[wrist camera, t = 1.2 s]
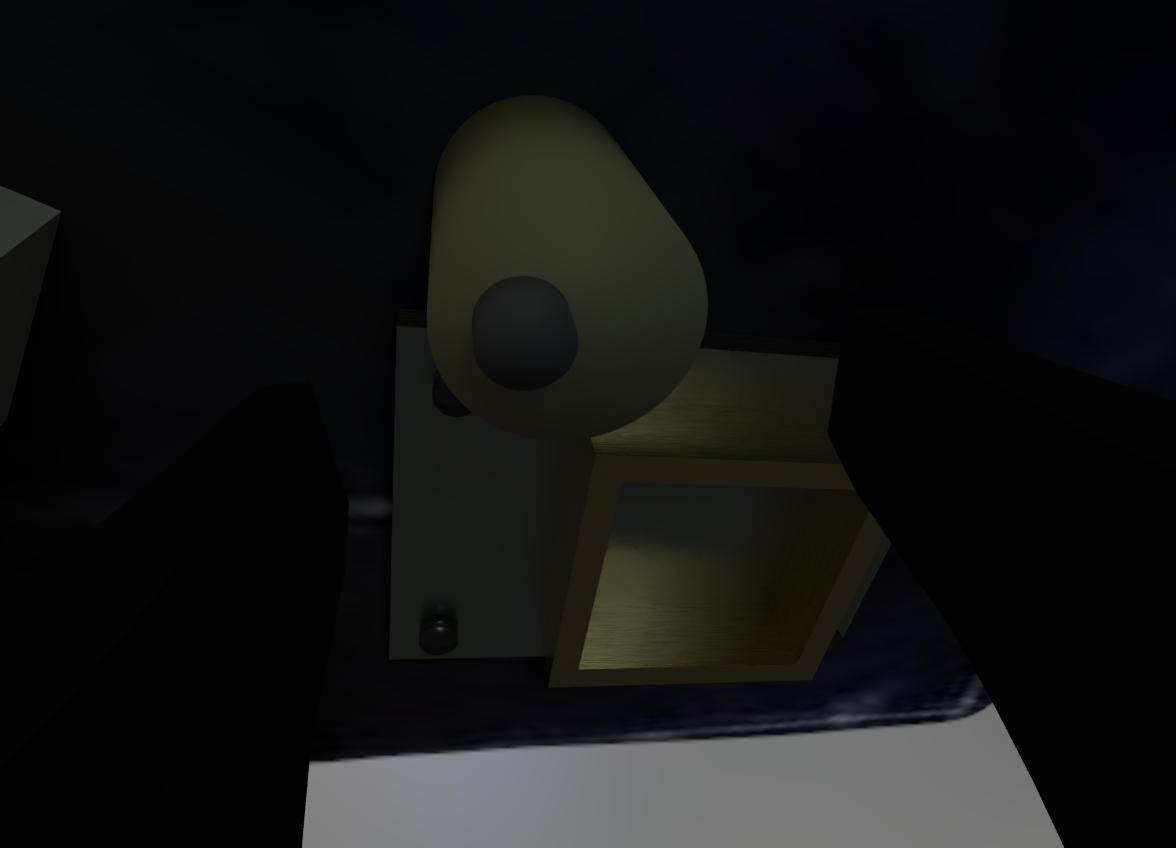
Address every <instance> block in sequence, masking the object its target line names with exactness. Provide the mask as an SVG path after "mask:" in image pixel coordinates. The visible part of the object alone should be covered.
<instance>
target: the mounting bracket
mask: <svg viewBox="0 0 1176 848" xmlns="http://www.w3.org/2000/svg"><path fill="white" fill-rule="evenodd" d="M840 347H841V343H840V342H828V341H815V340H802V339H790V338H777V337H764V336H752V335H739V334H726V333H714V332H704V337H703V340H702V343H701V345H700V348H699V351H698V353H697V356H696V358H695V360H694V362H693V364H692V366H691V367H690V369H689V370H688V372H687V374H686V375H685V377H684V378H683V380H682V381H681V382H680V383H679V385H678V386H677V387H676V388H675V389H674V391H673V392H672V393H671V394H670V395H669V396H668V397H667V398H666V399H665V400H664V401H662V402H661V403H660V404H659V405H658V406H657V407H655V408H654V409H653V410H651V411H650V412H649V413H647V414H646V415H644V416H643V417H641V418H639V419H638V420H636V421H634V422H633V423H631V424H629V425H626V426H624V427H622V428H620V429H618V430H615V431H612V432H609V433H606V434H603V435H600V436H596V437H591V438H587V439H580V440H571V441H547V440H537V439H531V438H527V437H522V436H518V435H515V434H512V433H509V432H506V431H504V430H501V429H499V428H497V427H495V426H493V425H491V424H489V423H487V422H486V421H484V420H483V419H481V418H479V417H478V416H476V415H475V414H474V413H473V412H471V411H470V410H469V409H468V408H467V407H465V406H464V405H463V404H462V403H461V402H460V401H459V400H458V399H457V397H456V396H455V395H454V394H453V393H452V392H451V390H450V389H449V388H448V386H447V385H446V383H445V382H444V380H443V379H442V377H441V375H440V373H439V371H438V369H437V367H436V365H435V362H434V359H433V356H432V353H431V350H430V345H429V339H428V334H427V310H422V309H410V308H399V312H398V320H397V336H396V381H395V425H394V469H393V514H392V558H391V602H390V647H389V659H440V658H490V657H541V656H544V661H545V668H546V676H547V684H548V688H550V687H585V686H619V685H654V684H688V683H723V682H758V681H792V680H812V678H813V676H814V674H815V672H816V670H817V668H818V666H819V664H820V662H821V660H822V658H823V657H828V656H831V655H833V654H835V653H837V652H838V651H839V650H840V649H841V648H842V647H843V645H844V639H843V637H844V635H845V633H846V631H847V629H848V627H849V625H850V623H851V621H852V619H853V617H854V616H855V614H856V612H857V610H858V608H859V606H860V604H861V602H862V600H863V598H864V596H865V594H866V592H867V590H868V588H869V586H870V584H871V582H872V580H873V578H874V576H875V575H876V573H877V571H878V569H879V567H880V565H881V563H882V561H883V559H884V557H885V555H886V553H887V551H888V549H889V547H890V545H891V542H890V540H889V539H888V538H887V536H886V535H885V533H884V532H883V530H882V529H881V527H880V526H879V525H878V523H877V522H876V520H875V519H874V517H873V516H872V514H871V513H870V511H869V510H868V508H867V507H866V506H865V504H864V503H863V501H862V500H861V498H860V497H859V495H858V494H857V492H856V491H855V489H854V487H853V485H852V483H851V481H850V479H849V477H848V475H847V473H846V471H845V469H844V467H843V466H842V464H841V461H840V459H839V457H838V455H837V453H836V451H835V448H834V446H833V444H832V442H831V440H830V438H829V436H828V433H827V432H828V426H829V419H830V413H831V406H832V400H833V393H834V387H835V380H836V374H837V367H838V360H839V354H840Z"/></svg>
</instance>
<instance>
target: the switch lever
mask: <svg viewBox="0 0 1176 848" xmlns="http://www.w3.org/2000/svg"><path fill="white" fill-rule="evenodd" d="M707 310H708V299H707V287H706V283H705V278H704V274H703V270H702V268H701V265H700V262H699V260H698V257H697V255H696V253H695V251H694V250H693V248H692V246H691V244H690V243H689V241H688V239H687V238H686V237H685V235H684V234H683V233H682V231H681V230H680V229H679V227H678V226H677V224H676V223H675V222H674V220H673V219H672V218H671V216H670V215H669V213H668V212H667V211H666V209H665V208H664V207H663V205H662V204H661V203H660V201H659V200H658V198H657V197H656V196H655V194H654V193H653V192H652V190H651V189H650V187H649V186H648V185H647V183H646V182H645V181H644V179H643V178H642V177H641V175H640V174H639V172H638V171H637V170H636V168H635V167H634V166H633V164H632V163H631V161H630V160H629V159H628V157H627V156H626V155H625V153H624V152H623V151H622V149H621V148H620V146H619V145H618V144H617V142H616V141H615V140H614V138H613V137H612V136H611V134H610V133H609V132H608V131H607V129H606V128H605V127H604V126H603V125H602V124H601V123H600V122H599V121H598V120H597V119H596V118H595V117H593V116H592V115H590V114H589V113H588V112H586V111H585V110H583V109H581V108H580V107H578V106H576V105H574V104H572V103H569V102H566V101H564V100H561V99H557V98H553V97H548V96H537V95H528V96H517V97H512V98H508V99H504V100H501V101H498V102H496V103H493V104H491V105H489V106H487V107H485V108H483V109H481V110H480V111H478V112H477V113H476V114H474V115H473V116H471V117H470V118H469V119H468V120H467V121H466V122H465V123H464V124H463V125H462V126H460V127H459V129H458V130H457V131H456V132H455V134H454V135H453V136H452V138H451V139H450V141H449V142H448V144H447V146H446V147H445V149H444V151H443V153H442V156H441V158H440V161H439V163H438V167H437V171H436V175H435V183H434V193H433V211H432V230H431V248H430V266H429V284H428V302H427V334H428V339H429V345H430V350H431V353H432V356H433V359H434V362H435V365H436V367H437V369H438V371H439V373H440V375H441V377H442V379H443V380H444V382H445V383H446V385H447V386H448V388H449V389H450V390H451V392H452V393H453V394H454V395H455V396H456V397H457V399H458V400H459V401H460V402H461V403H462V404H463V405H464V406H465V407H467V408H468V409H469V410H470V411H471V412H473V413H474V414H475V415H476V416H478V417H479V418H481V419H483V420H484V421H486V422H487V423H489V424H491V425H493V426H495V427H497V428H499V429H501V430H504V431H506V432H509V433H512V434H515V435H518V436H522V437H527V438H531V439H537V440H547V441H571V440H580V439H587V438H591V437H596V436H600V435H603V434H606V433H609V432H612V431H615V430H618V429H620V428H622V427H624V426H626V425H629V424H631V423H633V422H634V421H636V420H638V419H639V418H641V417H643V416H644V415H646V414H647V413H649V412H650V411H651V410H653V409H654V408H655V407H657V406H658V405H659V404H660V403H661V402H662V401H664V400H665V399H666V398H667V397H668V396H669V395H670V394H671V393H672V392H673V391H674V389H675V388H676V387H677V386H678V385H679V383H680V382H681V381H682V380H683V378H684V377H685V375H686V374H687V372H688V370H689V369H690V367H691V366H692V364H693V362H694V360H695V358H696V356H697V353H698V351H699V348H700V345H701V343H702V340H703V337H704V332H705V327H706V322H707Z"/></svg>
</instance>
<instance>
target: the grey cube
mask: <svg viewBox="0 0 1176 848" xmlns="http://www.w3.org/2000/svg"><path fill="white" fill-rule="evenodd" d="M60 214H61V211H59V210H56V209H54V208H52V207H49V206H47V205H45V204H42V203H40V202H37V201H35V200H33V199H30V198H28V197H26V196H23V195H21V194H19V193H16V192H14V191H11V190H9V189H7V188H4V187H2V186H0V426H1V425H2V424H3V423H4V422H5V421H6V419H7V417H8V413H9V409H10V405H11V401H12V398H13V394H14V390H15V386H16V382H17V378H18V375H19V371H20V367H21V363H22V359H23V356H24V352H25V348H26V344H27V340H28V336H29V333H30V329H31V325H32V321H33V317H34V313H35V310H36V306H37V302H38V298H39V294H40V290H41V287H42V283H43V279H44V275H45V271H46V268H47V264H48V260H49V256H50V252H51V248H52V245H53V241H54V237H55V233H56V229H57V225H58V222H59V218H60Z"/></svg>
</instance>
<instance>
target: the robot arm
mask: <svg viewBox="0 0 1176 848" xmlns="http://www.w3.org/2000/svg"><path fill="white" fill-rule="evenodd" d="M827 433H828V436H829V438H830V440H831V442H832V444H833V446H834V448H835V451H836V453H837V455H838V457H839V459H840V461H841V464H842V466H843V467H844V469H845V471H846V473H847V475H848V477H849V479H850V481H851V483H852V485H853V487H854V489H855V491H856V492H857V494H858V495H859V497H860V498H861V500H862V501H863V503H864V504H865V506H866V507H867V508H868V510H869V511H870V513H871V514H872V516H873V517H874V519H875V520H876V522H877V523H878V525H879V526H880V527H881V529H882V530H883V532H884V533H885V535H886V536H887V538H888V539H889V540H890V542H891V543H892V545H893V546H894V547H895V549H896V550H897V552H898V553H899V555H900V556H901V557H902V559H903V560H904V562H905V563H906V565H907V566H908V567H909V569H910V570H911V572H912V573H913V574H914V576H915V577H916V579H917V580H918V582H919V583H920V584H921V586H922V587H923V589H924V590H925V592H926V593H927V594H928V596H929V597H930V599H931V600H932V602H933V603H934V604H935V606H936V607H937V609H938V610H939V612H940V613H941V614H942V616H943V618H944V619H945V621H946V622H947V624H948V625H949V627H950V629H951V630H952V632H953V633H954V635H955V636H956V638H957V639H958V641H959V643H960V644H961V646H962V648H963V650H964V651H965V653H966V655H967V657H968V659H969V661H970V662H971V664H972V666H973V668H974V670H975V671H976V673H977V675H978V677H979V679H980V681H981V682H982V684H983V686H984V688H985V690H986V691H987V693H988V695H989V697H990V699H991V701H992V702H993V704H994V706H995V708H996V710H997V712H998V714H999V715H1000V717H1001V719H1002V721H1003V723H1004V725H1005V727H1006V729H1007V731H1008V733H1009V735H1010V737H1011V739H1012V741H1013V743H1014V745H1015V747H1016V749H1017V751H1018V753H1019V755H1020V756H1021V759H1022V761H1023V762H1024V764H1025V766H1026V768H1027V770H1028V772H1029V774H1030V776H1031V778H1032V780H1033V782H1034V784H1035V786H1036V788H1037V790H1038V792H1039V795H1040V797H1041V799H1042V801H1043V803H1044V805H1045V808H1046V810H1047V812H1048V814H1049V816H1050V818H1051V820H1052V823H1053V825H1054V827H1055V829H1056V831H1057V833H1058V835H1059V838H1060V840H1061V842H1062V844H1063V846H1064V848H1176V401H1175V400H1171V399H1168V398H1164V397H1161V396H1157V395H1154V394H1150V393H1147V392H1143V391H1140V390H1137V389H1133V388H1130V387H1127V386H1124V385H1121V384H1118V383H1115V382H1112V381H1109V380H1105V379H1102V378H1099V377H1096V376H1093V375H1090V374H1087V373H1084V372H1081V371H1078V370H1075V369H1072V368H1069V367H1066V366H1063V365H1060V364H1057V363H1054V362H1052V361H1049V360H1046V359H1043V358H1040V357H1038V356H1035V355H1032V354H1029V353H1027V352H1024V351H1021V350H1018V349H1016V348H1013V347H1010V346H1007V345H1005V344H1002V343H999V342H997V341H994V340H991V339H989V338H986V337H983V336H981V335H978V334H975V333H972V332H970V331H967V330H964V329H962V328H959V327H956V326H953V325H951V324H948V323H945V322H942V321H939V320H936V319H933V318H930V317H928V316H925V315H921V314H918V313H915V312H912V311H908V310H905V309H901V308H896V307H892V306H883V307H875V308H868V309H860V310H852V311H846V315H845V321H844V328H843V334H842V341H841V347H840V354H839V360H838V367H837V374H836V380H835V387H834V393H833V400H832V406H831V413H830V419H829V426H828V432H827ZM348 507H349V502H348V499H347V496H346V492H345V489H344V486H343V483H342V480H341V477H340V474H339V471H338V468H337V464H336V461H335V458H334V455H333V452H332V449H331V446H330V443H329V440H328V437H327V433H326V430H325V427H324V424H323V421H322V418H321V415H320V412H319V409H318V405H317V402H316V399H315V396H314V393H313V390H312V387H311V384H310V381H301V382H294V383H286V384H278V385H270V386H263V387H260V388H258V389H257V390H256V391H254V392H253V393H251V394H250V395H249V396H248V397H246V398H245V399H244V400H243V401H242V402H241V403H239V404H238V405H237V406H236V407H235V408H234V409H232V410H231V411H230V412H229V413H228V414H227V415H226V416H225V417H223V418H222V419H221V420H220V421H219V422H218V423H217V424H216V425H215V426H213V427H212V428H211V429H210V430H209V431H208V432H207V433H206V434H205V435H204V436H202V437H201V438H200V439H199V440H198V441H197V442H196V443H195V444H193V445H192V446H191V447H190V448H189V449H188V450H187V451H186V452H184V453H183V454H182V455H181V456H180V457H179V458H178V459H177V460H175V461H174V462H173V463H172V464H171V465H170V466H169V467H168V468H166V469H165V470H164V471H163V472H162V473H161V474H160V475H158V476H157V477H156V478H155V479H154V480H153V481H151V482H150V483H149V484H148V485H146V486H145V487H144V488H143V489H142V490H140V491H139V492H138V493H137V494H135V495H134V496H133V497H132V498H131V499H129V500H128V501H127V502H126V503H124V504H123V505H122V506H121V507H119V508H118V509H117V510H116V511H115V512H113V513H112V514H111V515H110V516H108V517H107V518H106V519H105V520H103V521H102V522H101V523H100V524H99V525H97V526H96V527H95V528H94V529H92V530H91V531H90V532H89V533H88V534H86V535H85V536H84V537H82V538H81V539H80V540H78V541H77V542H76V543H74V544H73V545H72V546H70V547H69V548H68V549H66V550H65V551H64V552H62V553H61V554H59V555H58V556H57V557H55V558H54V559H53V560H51V561H50V562H48V563H47V564H46V565H44V566H43V567H41V568H40V569H38V570H37V571H36V572H34V573H33V574H31V575H30V576H28V577H27V578H25V579H24V580H22V581H21V582H19V583H18V584H17V585H15V586H14V587H12V588H11V589H9V590H8V591H6V592H5V593H3V594H2V595H0V848H302V840H303V828H304V817H305V806H306V794H307V783H308V771H309V761H310V753H311V746H312V740H313V733H314V727H315V720H316V715H317V710H318V705H319V700H320V695H321V690H322V685H323V680H324V675H325V670H326V665H327V660H328V655H329V650H330V645H331V640H332V635H333V630H334V625H335V620H336V615H337V610H338V605H339V600H340V594H341V589H342V584H343V578H344V573H345V567H346V551H347V533H348Z"/></svg>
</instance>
